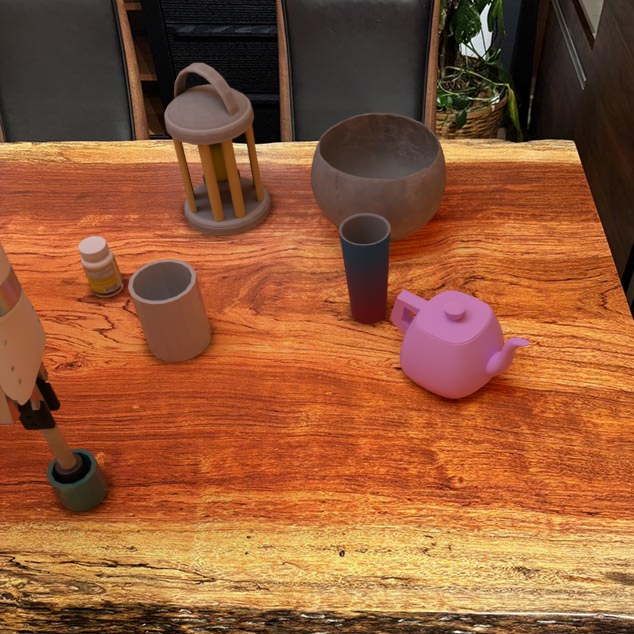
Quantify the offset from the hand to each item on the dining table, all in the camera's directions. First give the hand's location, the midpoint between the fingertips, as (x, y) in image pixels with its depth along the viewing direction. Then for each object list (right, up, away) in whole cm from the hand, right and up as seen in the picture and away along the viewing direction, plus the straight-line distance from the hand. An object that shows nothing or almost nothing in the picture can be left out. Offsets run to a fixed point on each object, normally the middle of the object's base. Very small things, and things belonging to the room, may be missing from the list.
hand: (43, 417), depth 86 cm
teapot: (+47, +5, +22) cm, 52 cm away
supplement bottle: (-5, +18, +35) cm, 40 cm away
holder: (+1, -10, +11) cm, 14 cm away
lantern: (+11, +32, +48) cm, 58 cm away
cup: (+35, +14, +30) cm, 48 cm away
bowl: (+37, +29, +43) cm, 63 cm away
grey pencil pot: (+8, +10, +27) cm, 30 cm away
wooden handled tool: (0, -9, +10) cm, 14 cm away
